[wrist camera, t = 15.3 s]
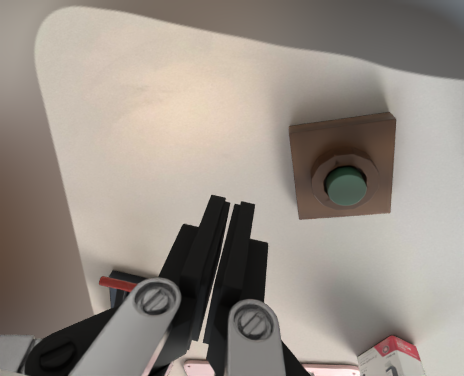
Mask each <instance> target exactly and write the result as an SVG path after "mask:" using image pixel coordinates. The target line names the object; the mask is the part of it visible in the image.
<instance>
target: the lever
mask: <svg viewBox="0 0 464 376" xmlns="http://www.w3.org/2000/svg"><path fill="white" fill-rule="evenodd" d="M99 285H102V286H106V287H110V288H114V289H117V291H116V297H115V303H114V307H116V306H118V305H120V304H122V303H123V302H124V300H125V299H126V294H127V292H131V291H132V290H133V288H134V287H135V286H136V285H137V284H135V283H131V282H127V281H122V280H118V279H114V278H110V277H106V276H102V277H101V278H100V281H99Z"/></svg>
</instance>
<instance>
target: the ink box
mask: <svg viewBox="0 0 464 376" xmlns="http://www.w3.org/2000/svg"><path fill="white" fill-rule="evenodd" d="M357 360H358V366H359V371H360V376H426V374H425V371H424V369H423V366H422V363H421V360H420V357H419V354H418V351H417V348H416V346H414V345H412V344H410V343H408V342H406V341H404V340H402V339H399V338H397V337H395V336H392V335H391V336H389V337H388V338H386V339H385V340H383V341H382V342H380V343H379V344H377V345H376V346H374V347H372V348H371V349H369V350H368V351H366V352H365V353H363V354H362V355H360V356H359V357H357Z"/></svg>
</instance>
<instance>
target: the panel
mask: <svg viewBox="0 0 464 376" xmlns="http://www.w3.org/2000/svg"><path fill="white" fill-rule="evenodd" d="M302 366H303V367H304V368H305V369H306V370H307V372H314V375H315V376H360V371H359V368H358V367H356V366H351V365H322V364H302ZM184 369H185V371H186V373H187V375H188V376H214V371H213V369H212V367H211V366H210V364H209V362H208V361H198V360H189V361H186V362H185V364H184Z"/></svg>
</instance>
